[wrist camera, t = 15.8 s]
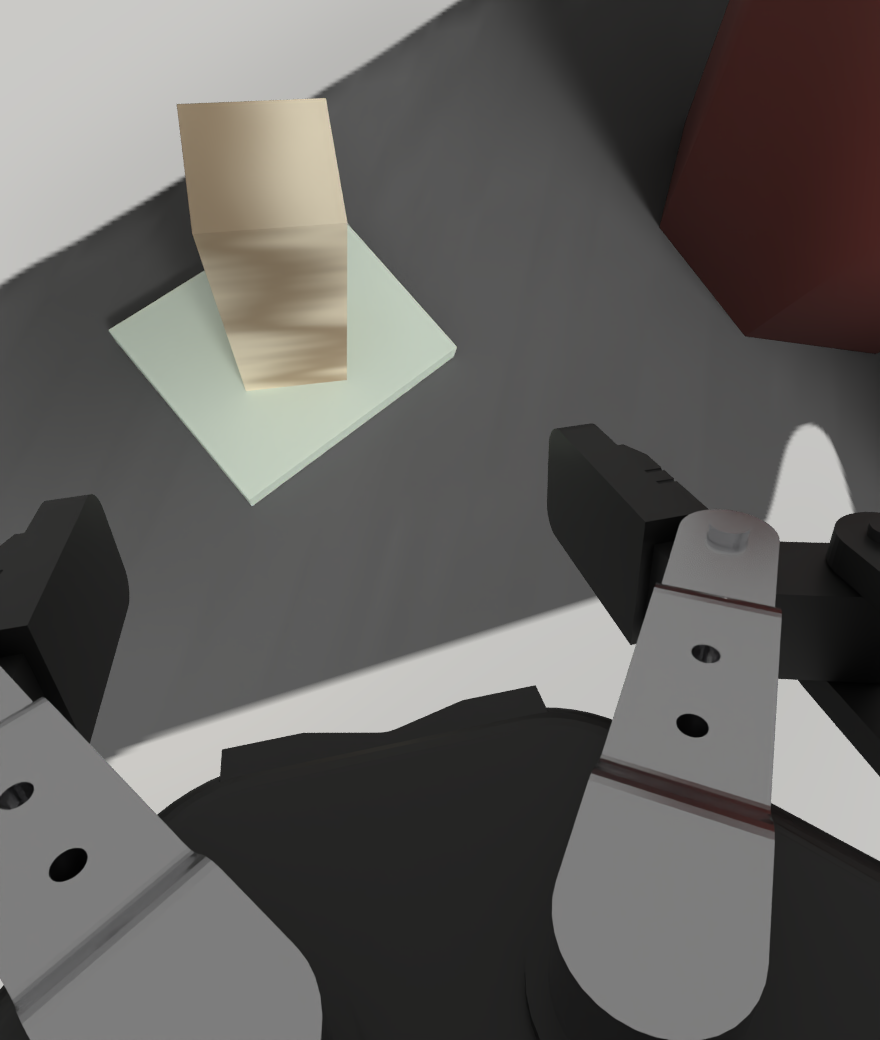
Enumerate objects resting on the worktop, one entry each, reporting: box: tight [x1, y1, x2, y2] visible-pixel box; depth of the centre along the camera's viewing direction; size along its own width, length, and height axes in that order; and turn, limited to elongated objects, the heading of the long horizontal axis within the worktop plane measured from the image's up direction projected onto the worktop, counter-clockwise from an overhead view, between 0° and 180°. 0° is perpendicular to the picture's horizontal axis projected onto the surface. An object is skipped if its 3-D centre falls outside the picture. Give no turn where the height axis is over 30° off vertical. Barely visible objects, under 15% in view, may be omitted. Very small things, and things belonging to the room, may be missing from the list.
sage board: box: [109, 224, 457, 506], centre depth 32 cm, size 12×10×1 cm
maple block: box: [177, 98, 347, 391], centre depth 26 cm, size 4×4×11 cm
